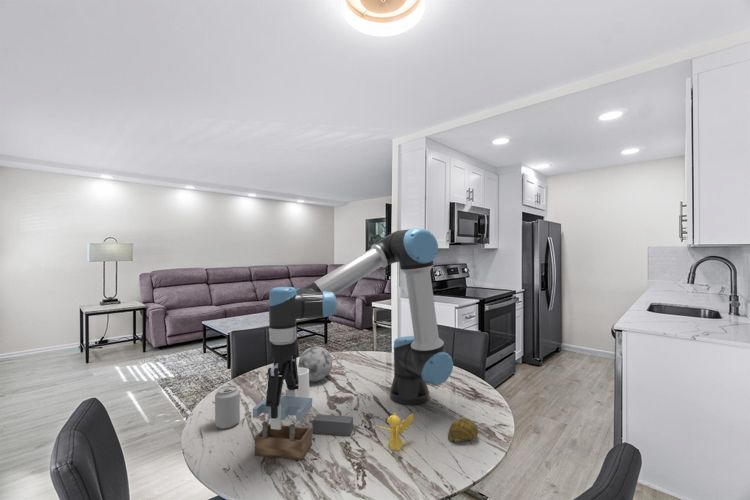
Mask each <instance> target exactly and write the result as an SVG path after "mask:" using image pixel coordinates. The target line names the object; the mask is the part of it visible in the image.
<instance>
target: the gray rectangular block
mask: <svg viewBox="0 0 750 500" xmlns="http://www.w3.org/2000/svg"><path fill="white" fill-rule="evenodd" d="M353 431H354V416H348V415H347V416H346V415H335V414H322V413H320V414H319V413H316V415H315V416H314V418H313V419H312V434H322V435H332V436H333V435H336V436H346V437H351V435H352V433H353Z"/></svg>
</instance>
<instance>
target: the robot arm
mask: <svg viewBox="0 0 750 500" xmlns="http://www.w3.org/2000/svg"><path fill="white" fill-rule="evenodd" d="M438 251H439V244H438V241H437V239H436V236H435V235H434V234H433V233H431V231H429V230H428V229H425V228H419V227H417V228H409V229H401V230H397V231H396V230H395V231H394V232H391V233H390V234H388V235H386V236H385V237H383V238H381V239H380V240H378V241H376V242H375V243H374V244H372V245H371V246H370V249H369V250H367V251H364V252H362V254H360V255H358V256H356V257H354V258H353V259H351V260H349V261H347V262H346V263H344V264H342V265H340V266H339V267H337V268H335V269H333V270H332V271H330V272H329V273H327V274H326V275H323V276H322V277H319V278H318V279H317V280H315V281H313V282H311V283H309V284H307V285H306V286H303V287H298V288H297V289H296V288H295V287H293V286H278V287H273V288H271V289H270V290H269V296H268V297H269V299H268V317H269V318H268V319H269V322H268V323H269V324H268V326H269V329H268V333H269V341H270V343H269V346H268V348H269V350H268V352H269V356H270V357H271V358H273V367H268V369H267V375H268V377H267V385H266V387H267V389H266V397H265V398H266V406H268V407H271V419H270V424H271V429H278V430H280V429H281V425H282V420H281V404H279V403H280V397H281V396H282V391H283V385H284V381H285V384H286V390H285V396H288V397H295V389H298V388H299V386H296V385H298V383H299V381H298V372H297V368H298V365H297V341H296V340H297V339H298V338H297V320H304V319H313V318H315V319H316V318H326V317H327V318H328V317H331V316H334V315H335V314H336V312H337V309H338V305H337V304H338V303H337V297H336V294H338V293H340V292H342V291H343V290H345V289H347V288H348V287H349V286H352V285H353V284H355V283H357V282H358V281H359V280H362V279H363V278H364V277H367V276H368V275H370V274H371V273H374V271H376V270H378V269H379V268H381V267H382V268H387V267H388V266H390V265H393V264H395V263H399V268H400V269H399V270H401V272H403V273H404V274H405V279H406V280H405V281H406V289H407V293H408V294H407V295H408V302H409V303H408V304H409V309H410V317H411V323H412V324H411V326H412V331H413V335H409V336H408V335H406V336H405V335H404V336H400V337H399V336H398V337H397V338H395V339H394V341H393V373H394V374H393V375H394V376H393V379H392V382H391V385H390V389H389V397H390V399H391V400H392V401H393V402H395V403H398V404H400V405H407V406H408V405H409V406H410V405H411V406H412V405H420V404H421V405H422V404H423V403H426V402H427V401H428V400H429V399H430V391H429V387H428V384H429V385H431V386H439V385H442V384H444V383H446V382H447V380H448V379H449V377H450V376H451V375H452V372H453V368H454V362H453V358H452V356H451V355H450V354H449V353H448V352H446V351H445V343H444V342H445V341H444V340H442V338H440V337H439V329H438V321H437V314H436V313H437V312H436V307H435V300H434V291H433V290H434V289H433V284H432V277H431V270H432V268H433V267H434V266H435V265H434V261H435V258H436V257H437V255H438V253H439V252H438ZM287 389H289V390H287Z"/></svg>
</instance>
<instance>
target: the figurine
mask: <svg viewBox="0 0 750 500" xmlns="http://www.w3.org/2000/svg"><path fill="white" fill-rule="evenodd" d="M414 415H415V413H410V415H408V416H407V417H406V418H405V419H403V420H402V421H401V418H400V417H399V416H398V415H397V413H396V412H394V413H393V414H392V415H390V416H389V417H388V418H387V421H386V423H388V424H389V426H390V428H389V427H385V426H380V425H376V424H374V426H376V427H378V428H381V429H384V430H387V431H389V432H390V433H389V441H388V447H389V449H390V450H393V451H400V450H401V449H402V447H403V446H404V442H403V440H402V438H401V436H400V434H401V435H402V434H403V433H404V432H405V431H408V429H409V428H410V426H411V425H412V422H414V418H415V416H414Z"/></svg>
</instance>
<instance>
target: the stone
mask: <svg viewBox="0 0 750 500" xmlns="http://www.w3.org/2000/svg"><path fill="white" fill-rule="evenodd" d="M297 368H307V369H309V382H313V383H315V382H319V381H321V380H323V379H324V378H325V377H326V376H328V375H329V374H330V373H331V371H332V368H333V357H332V355H331V352H329V351H328V349H326V348H324V347H321V346H318V345H317V346H312V347H308V348H307V349H305V350H304V351H302V353H301V354H300V356H299V359H298V365H297Z"/></svg>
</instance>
